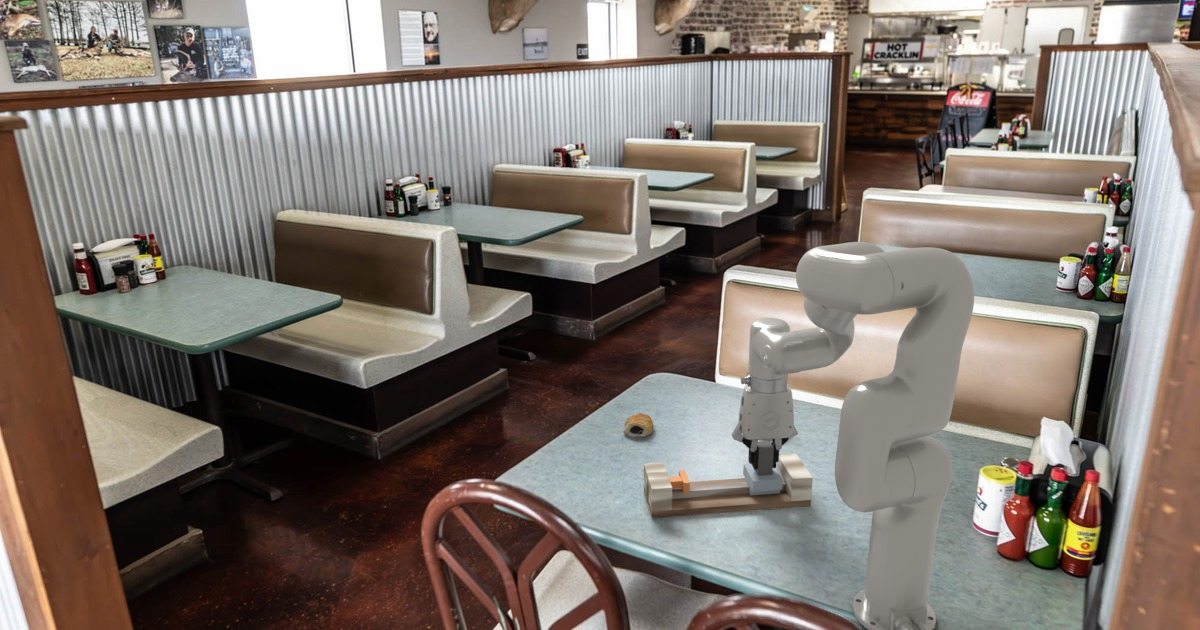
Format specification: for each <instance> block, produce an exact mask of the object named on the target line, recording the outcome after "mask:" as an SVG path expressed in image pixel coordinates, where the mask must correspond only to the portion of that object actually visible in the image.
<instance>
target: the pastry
mask: <svg viewBox="0 0 1200 630" xmlns="http://www.w3.org/2000/svg"><path fill="white" fill-rule="evenodd" d="M653 428H654V422H653V419H652V417H650V415H649V414H644V413H641V412H639V413H637V414H633V415H632V416H629V417H628V418H627V420H626V421H625V422H624V428H623V434H625V436H628V437H632V438H635V437H636V438H637V437H638V438H640V437H641V438H644V437H648V436H650V435H651V434H652V433H653V431H654V430H653Z"/></svg>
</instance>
